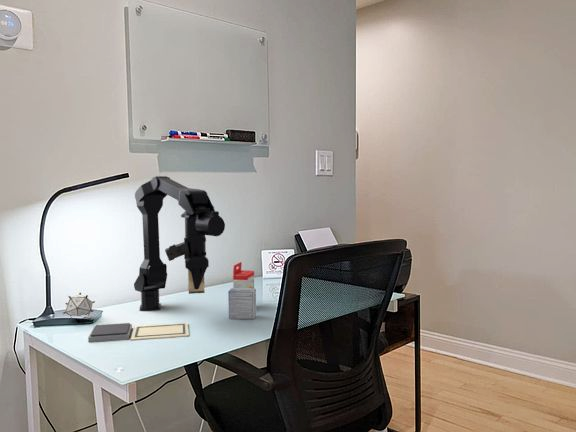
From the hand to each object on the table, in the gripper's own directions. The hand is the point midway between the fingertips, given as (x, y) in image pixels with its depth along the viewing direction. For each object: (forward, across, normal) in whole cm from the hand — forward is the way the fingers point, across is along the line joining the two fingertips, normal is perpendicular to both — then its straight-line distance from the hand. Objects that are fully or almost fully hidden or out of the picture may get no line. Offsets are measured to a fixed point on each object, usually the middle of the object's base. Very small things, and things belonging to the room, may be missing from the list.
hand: (196, 287), depth 143 cm
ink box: (+11, -15, +16) cm, 25 cm away
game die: (+11, -12, -34) cm, 38 cm away
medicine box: (+11, -4, +14) cm, 18 cm away
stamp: (+1, 0, 0) cm, 1 cm away
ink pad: (+11, +5, -23) cm, 26 cm away
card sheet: (+11, +5, -10) cm, 16 cm away
